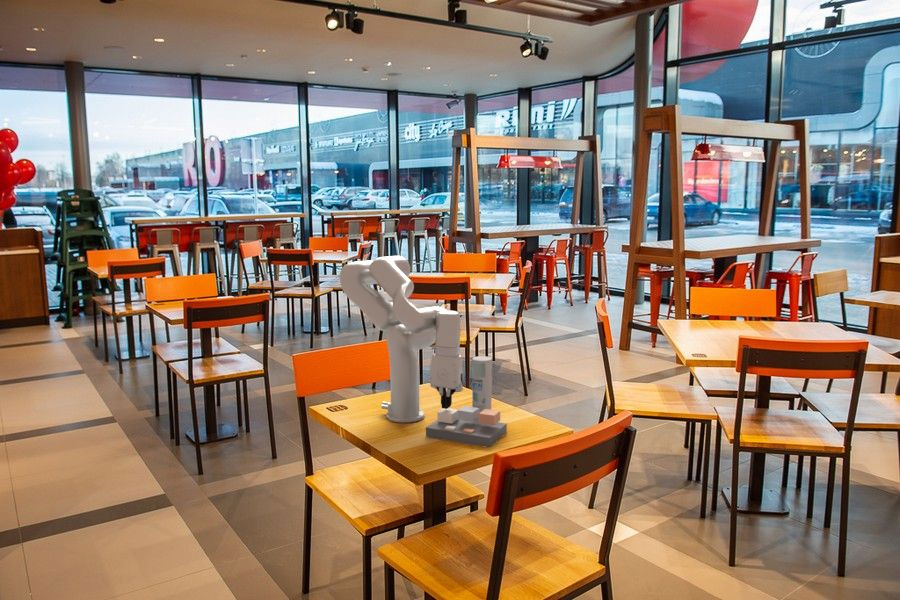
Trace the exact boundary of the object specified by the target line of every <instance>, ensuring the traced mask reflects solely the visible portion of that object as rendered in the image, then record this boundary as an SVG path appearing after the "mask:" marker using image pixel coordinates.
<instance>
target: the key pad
mask: <svg viewBox="0 0 900 600" xmlns="http://www.w3.org/2000/svg"><path fill="white" fill-rule="evenodd" d="M507 430H508V424H507V422H506V423H505V422H500V421H499V422H498V423H496V424H495V425H490V424H483V423H479V419H476V420H475V421H473V422H470V421H463V420H457V421H455V422H454V423H452V424H451V423H444V422H438V421H437V420H435V421H434V422H432V423H431V424H429V425H427V426H425V438H430V439H435V440H442V441H448V442H453V443H461V444H466V445H471V446H472V445H473V446H478V447H483V446H486V447H485V448H489V447H490V446H491V445H492V446H493V445H494V444H495V443H497V442H499V440H500V439H501V438H503V437H504V436H505V435H506V434H507ZM496 441H497V442H496ZM492 446H491V447H492ZM491 447H490V448H491Z"/></svg>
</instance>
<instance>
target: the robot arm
mask: <svg viewBox="0 0 900 600" xmlns="http://www.w3.org/2000/svg"><path fill="white" fill-rule="evenodd" d="M410 274H411V265H410V263H409V261H408V259H406V258H405V257H403V256H402V255H389V256H379V257H377V258H375V259H371V260H370V259H369V260H367V259H366V260H358V261H357V260H356V261H353V262H349V263H347V264H345V265H344V266H342V267H341V270H340V272H339V283H340V287H341V289H342V292H343V293H344V294H345V296H346V298H348V299H349V300H350V301H351V302H352V303H353V304H354V305H355V306H357V307H358V308H359V309H360V310H361V312H362V313H363V314H364V315H365V316H366V317H367V318H368V320H370V321H371V323H372V324H373V325H374V326H375V327H376V328H377V329H378V330H380V331H382V332H387V333H386V346H387V349H388V350H387V351H388V355H389V356H388V357H389V371H390V372H389V373H390V376H389V377H390V382H389V383H390V402H388V401H382V403H381V407H380V408H381V409H383V410H387V412H386V417H385V418H386V419H387V420H389V421H391V422H394V423H400V424H401V423H402V424H403V423H413V422H414V423H415V422H418V421H421V420H423V419H424V418H425V412H424V411H423V410H422V409H421V407H420V364H419V360H418V358H417V356H416V354H415V352H416V351H418V350H419V351H420V350H422V349H426V348H429V347H431V349H432V350H434V353H432V356H431V360H430V365H429V366H430V367H429V376H428V377H429V379H428V382H429V385H430V387H431V388H433V389H435V390H437V392H438V393H439V396H440V405H441V409H443V408H445V409H447V408H450V407H451V406H452V404H453V402H452V401H453V400H452V399H453V395H454V394H455V393H460V392H461V393H462V391H464V389H463V387H464V386H463V385H464V365H463V359H462V355H461V354H460V350H461V349H460V346H461V345H460V343H461V315H460V313H459V311H456V310H451V309H450V310H449V309H446V308H444V307H442V306H438V305H435V306H434V305H433V306H427V307H421V308H417V307H416V306H415V305H414V304H413V303H411V302H409V301H408V299H409V297H411V295H412V294H413V292H414V289H415V284H414V282H413V280H411V279H410V278H409V275H410ZM377 284H378V285H379V286H380V287H381V288H382V290H384V291H385V293H387V295H388V296H389V297H390V298H391V300H392V301H390V300H387V299H386V298H385V297H384V296H383V295H382V294H381V293H380V292H379V291H377V290H376V289H374V288H373V287H371V286H369V285H377ZM434 343H435V344H434Z"/></svg>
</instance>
